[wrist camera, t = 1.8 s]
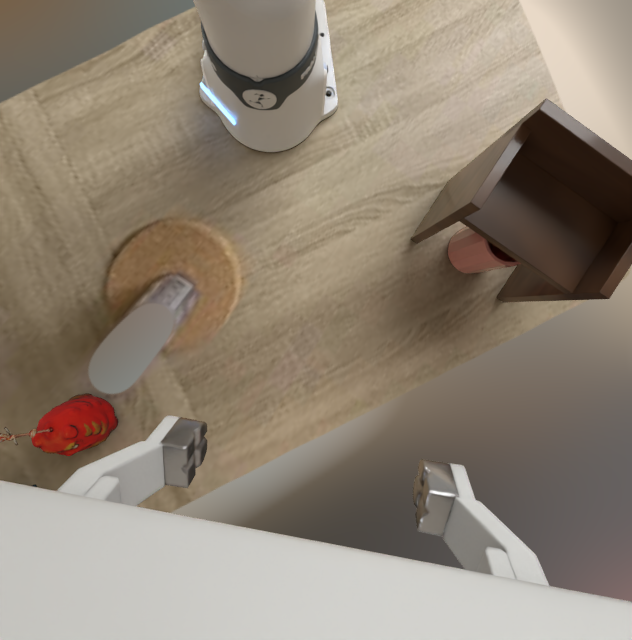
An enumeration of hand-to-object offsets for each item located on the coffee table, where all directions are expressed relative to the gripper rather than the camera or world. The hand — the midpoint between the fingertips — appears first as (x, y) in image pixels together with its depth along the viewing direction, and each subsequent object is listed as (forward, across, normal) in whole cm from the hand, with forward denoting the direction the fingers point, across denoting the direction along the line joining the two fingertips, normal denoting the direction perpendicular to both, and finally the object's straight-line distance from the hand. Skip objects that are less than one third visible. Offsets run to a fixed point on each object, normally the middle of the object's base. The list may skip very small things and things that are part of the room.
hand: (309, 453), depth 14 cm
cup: (+45, -17, -1) cm, 48 cm away
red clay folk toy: (+28, +32, +25) cm, 50 cm away
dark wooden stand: (+46, -17, -2) cm, 49 cm away
